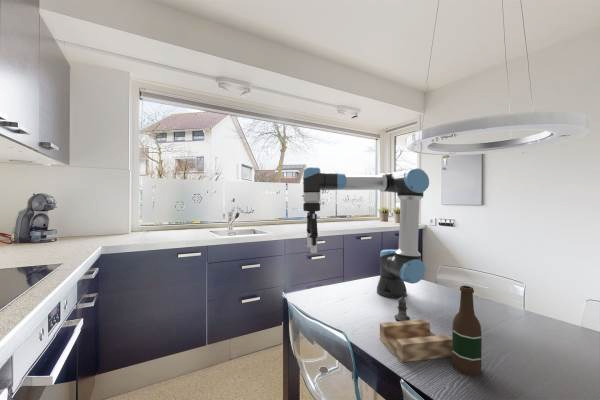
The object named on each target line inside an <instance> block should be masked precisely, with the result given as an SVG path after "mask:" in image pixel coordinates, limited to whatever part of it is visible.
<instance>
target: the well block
mask: <svg viewBox="0 0 600 400" xmlns="http://www.w3.org/2000/svg"><path fill="white" fill-rule="evenodd" d="M379 339H380V340H381V342H382V343H384V345H386V347H387V348H388V349H389V350H390V351H391V352H392V353H393V354H394V356H395V357H396V358H397V359H398V360H399V361H400V362H401V363H405V362H406V363H407V362H414V361H415V362H416V361H423V360H433V359H441V358H442V359H443V358H449V357H450V358H452V336H450V335H449V334H441V335H437V334H435V333H434V332H432V331H431V322H430V321H428V320H427V319H426V318H422V319H410V320H408V321H396V320H395V321H387V322H379Z"/></svg>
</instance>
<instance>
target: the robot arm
mask: <svg viewBox="0 0 600 400" xmlns="http://www.w3.org/2000/svg"><path fill="white" fill-rule="evenodd" d="M302 173H303V177H302V181H303V182H302V183H303V185H302V186H303V188H302V189H303V194H301V197H302V199H303V202H304V203H303V204H302V205H303V206H302V207H303V208H302V209H303V210H302V211H304V212H307V213H306V214H307V215H306V221H307V222H306V234H307V235H306V239H307V240H306V247H307V248H310V254H317V253H318V237H319V234H318V219H317V217H318V214H317V213H316V212H320V211H321V191H350V190H351V191H354V190H355V191H358V190H359V191H361V190H364V191H365V190H366V191H367V190H369V191H371V190H373V191H376V190H378V191H380V192H383V193H385V192H387V193H394V194H395V193H396V194H397V195H396V196H397V198H398V199H399V201H400V202H399V203H400V204H399V205H400V206H399V228H398V229H399V230H398V249H382V250H381V251H380V253H379V254H380V255H379V276H380V277H379V280H378V283H377V287H376V293H377V294H378V295H380V296H383V297H385V298H386V297H387V298H391V299H400V298H402V296H403V298H406V297H407V296H408V295H407V294H408V292H407V287H406V284H405V283H408V284H413V285H414V284H417V283H420V282H421V281H422V280H423V279H424V277H425V275H426V272H427V271H426V270H427V268H426V265H425V263H424V262H423V261H422V253H420V252H419V228H420V227H419V226H420V225H419V224H420V222H419V221H420V204H421V203H420V202H421V200H422V199H423V198H424V193H425V191H427V189H428V188H429V186H430V179H429V175H428V174H427V173H426V171H425V170H423V169H422V168H418V167H414V168H407V169H406V168H405V169H402V170H395V171H392V172H387V173H386V172H384V173H383V172H382V173H380V174H377V175H376V174H373V175H372V174H370V175H369V174H367V175H366V174H364V175H363V174H362V175H360V174H353V175H352V174H346V173H345V172H325V171H324V172H323V171H321V168H320V167H316V166H308V167H305V168H303V172H302Z"/></svg>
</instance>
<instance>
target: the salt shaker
mask: <svg viewBox="0 0 600 400" xmlns="http://www.w3.org/2000/svg"><path fill="white" fill-rule="evenodd" d="M397 309H398V311H397V314H395V315H394V318H395V322H396V321H408V320H411V317H410V316H409V315H408V314H407V310H408V307H407V299H406V298H405V297H403V296H402V298H398V305H397Z"/></svg>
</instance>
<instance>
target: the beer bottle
mask: <svg viewBox="0 0 600 400" xmlns="http://www.w3.org/2000/svg"><path fill="white" fill-rule="evenodd" d="M459 291H460V298H459V299H460V301H459V308H458V309H459V310H458V312H457V313H456V314H455V316H454V318H453V319H452V331H451V333H452V336H451V337H452V356H451V360H452V366H453V368H454V369H456V370H457V371H458V372H460V374H464V375H467V376H471V377H474V376H475V377H476V376H481V374H482V361H483V360H482V353H483V352H482V351H483V350H482V346H483V345H482V343H483V342H482V341H483V340H482V338H483V337H482V327H481V323H480V321H479V319H478V318H477V316H476V315H475V308H474V295H473V294H474V293H475V291H474V288H473V286H469V285H460V287H459Z"/></svg>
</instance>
